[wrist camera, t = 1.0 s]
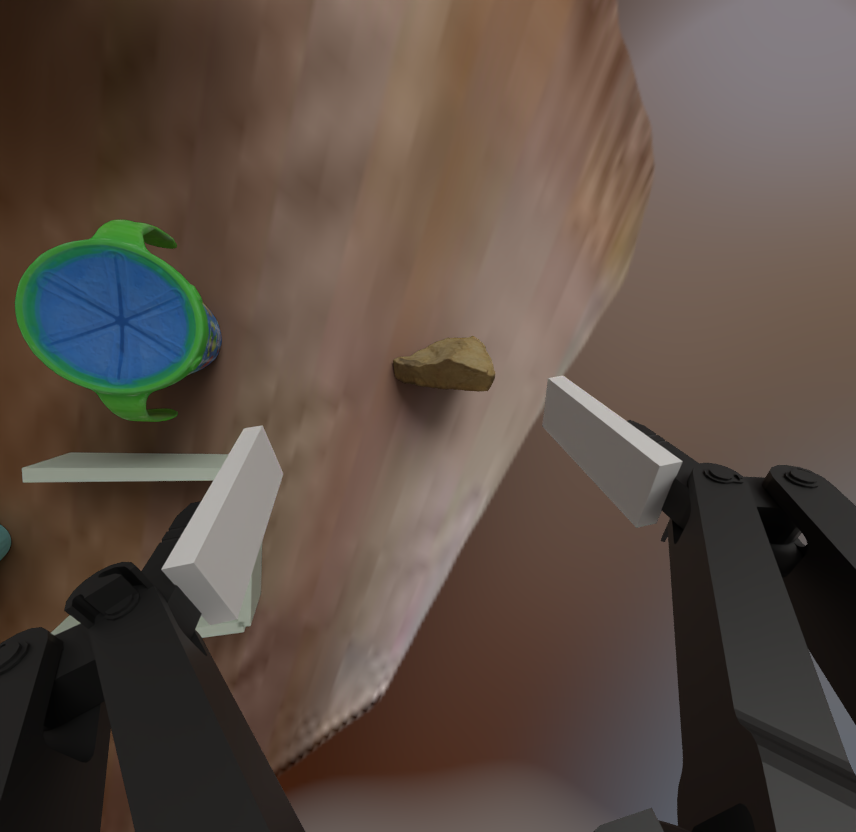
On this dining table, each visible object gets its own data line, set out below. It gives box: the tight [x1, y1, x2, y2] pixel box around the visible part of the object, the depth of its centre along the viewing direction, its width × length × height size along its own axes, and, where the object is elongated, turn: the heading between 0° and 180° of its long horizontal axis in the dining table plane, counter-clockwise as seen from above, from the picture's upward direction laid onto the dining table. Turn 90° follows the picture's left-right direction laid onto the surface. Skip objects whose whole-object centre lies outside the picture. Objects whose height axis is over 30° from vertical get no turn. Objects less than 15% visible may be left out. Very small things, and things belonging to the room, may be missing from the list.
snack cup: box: [15, 220, 222, 422], centre depth 27 cm, size 16×10×10 cm
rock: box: [393, 336, 495, 392], centre depth 36 cm, size 11×9×10 cm
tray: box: [22, 452, 262, 638], centre depth 31 cm, size 17×17×5 cm
